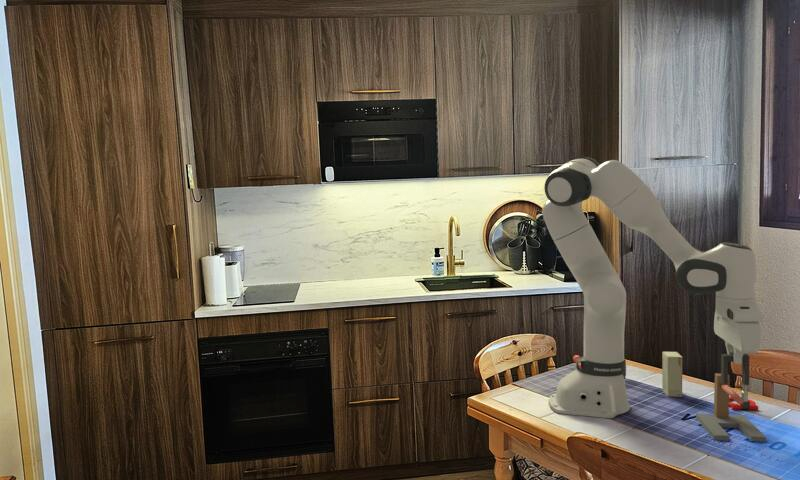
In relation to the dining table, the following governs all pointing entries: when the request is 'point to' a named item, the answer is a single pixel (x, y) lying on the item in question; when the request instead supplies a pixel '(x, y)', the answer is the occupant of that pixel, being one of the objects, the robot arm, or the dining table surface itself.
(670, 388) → the skincare box
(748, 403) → the tow hook
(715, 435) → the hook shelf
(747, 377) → the bight
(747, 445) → the dining table surface
